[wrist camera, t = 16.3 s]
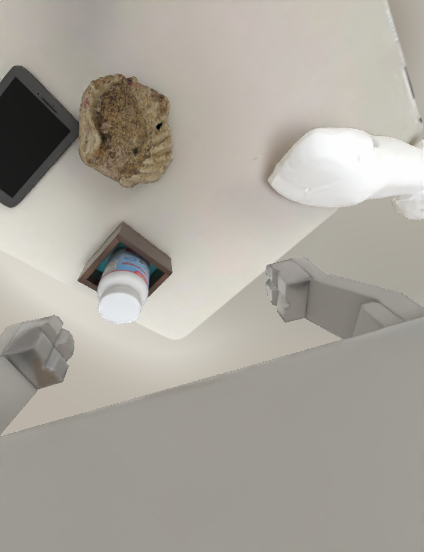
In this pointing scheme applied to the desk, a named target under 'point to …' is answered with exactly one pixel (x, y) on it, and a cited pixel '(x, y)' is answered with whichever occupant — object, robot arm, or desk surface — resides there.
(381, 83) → the desk surface
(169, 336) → the desk surface
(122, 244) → the brown wooden box
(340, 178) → the fish
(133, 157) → the seashell
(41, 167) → the cell phone
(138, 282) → the pill bottle
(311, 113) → the desk surface
